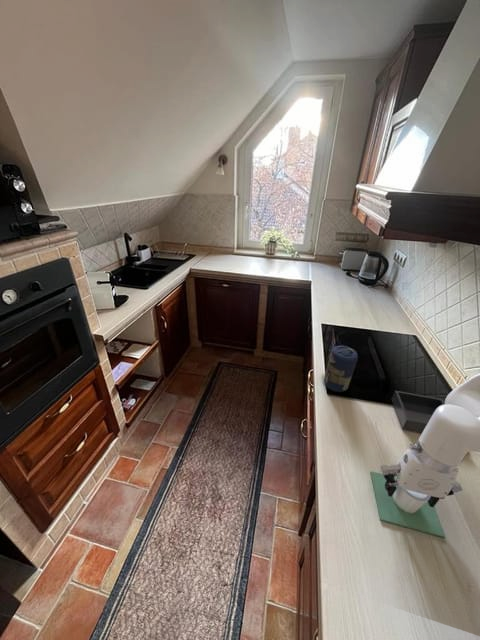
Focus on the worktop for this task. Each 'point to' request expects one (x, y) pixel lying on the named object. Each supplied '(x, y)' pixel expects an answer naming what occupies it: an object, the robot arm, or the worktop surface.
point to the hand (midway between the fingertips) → (408, 495)
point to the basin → (414, 410)
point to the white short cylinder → (409, 499)
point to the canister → (340, 368)
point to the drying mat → (391, 513)
